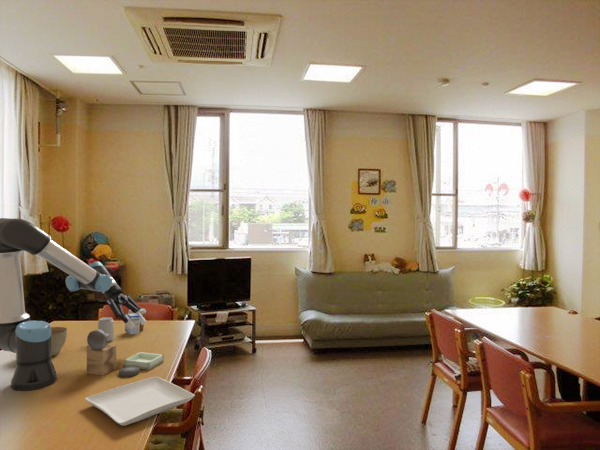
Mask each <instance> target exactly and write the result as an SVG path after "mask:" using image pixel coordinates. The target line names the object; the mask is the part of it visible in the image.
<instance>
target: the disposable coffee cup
mask: <svg viewBox="0 0 600 450" xmlns="http://www.w3.org/2000/svg"><path fill="white" fill-rule="evenodd" d="M140 308H141V309H140V310H139V312H140V313H141V314H142V316H143V317H144V319H145V318H146V317H145V316H146V313H147V310H146V308H143V307H140ZM127 313H133V312H132V311H131V310H129V309H128V312H127ZM145 320H146V319H145ZM144 325H145V323H144V324H143V325H141V323H140V332H143V331H144Z"/></svg>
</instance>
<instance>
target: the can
mask: <svg viewBox="0 0 600 450" xmlns="http://www.w3.org/2000/svg"><path fill="white" fill-rule="evenodd" d="M114 326H115V321H114V319H113V317H112V316H105V317H101V318H99V319H98V321H97V330H98V329H99V330H102V331H104V332H105V334H107V333H108V334H109V335H110V336H109V338H107V343H109V342H112V341H113V340H114V338H115V334H114V333H115V327H114Z"/></svg>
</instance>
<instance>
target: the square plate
mask: <svg viewBox="0 0 600 450" xmlns="http://www.w3.org/2000/svg"><path fill="white" fill-rule="evenodd" d="M194 397H195V394H194V393H192V392H191V391H189V390H187V389H185V388H183V387H181V386H179V385H176V384H174V383H173V382H171V381H169V380H166V379H164V378H162V377H160V376H151V377H148V378H144V379H142V380H138V381H134V382H131V383H127V384H124V385H120V386H117V387H114V388H110V389H107V390H104V391H102V392H99V393H95V394H92V395H89V396H86V397H85V398H84V401H86V402H88V403H89V404H91V405H92V406H93V407H94V408H96V409H98V410H100V411H102V412H103V413H104V414H106V415H107V416H108V417H109V418H111V420H113V421H114V422H115V423H117V425H120V426H122V427H124V426H128V425H131V424H134V423H137V422H138V423H139V422H140V421H143V420H145V419H147V418H151V417H153V416H156V415H158V414H162V413H164V412H166V411H169V410H172V409H174V408H176V407H178V406H180V405H184V404H186V403H188V402H189V401H191V400H192V399H193V398H194Z"/></svg>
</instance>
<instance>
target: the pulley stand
mask: <svg viewBox="0 0 600 450" xmlns="http://www.w3.org/2000/svg"><path fill="white" fill-rule="evenodd" d="M109 336H110V335H109V334H108V333H107V334H105V332H104V331H102V330H99V329H98V328H97V329H95V330H92V331H89V332H88V335H87V338H86V341H87V345H88V347H89V348H87V349H86V374H90V375H98V376H104V375H106V374H108V373H110V372H112V371H114V370H117V344H116V345H114V344H107V343H108V342H107V338H109Z"/></svg>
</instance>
